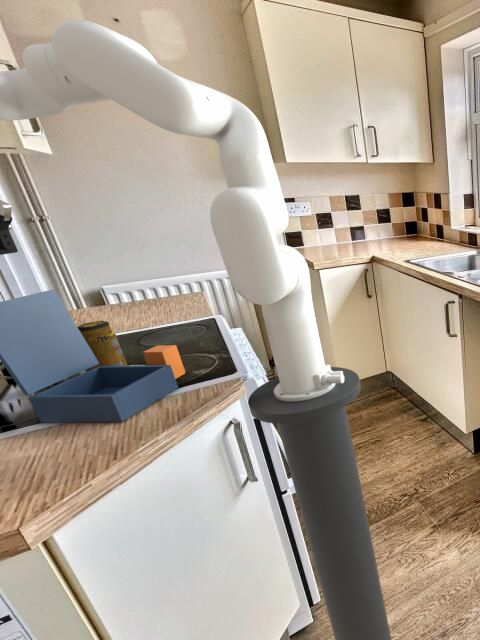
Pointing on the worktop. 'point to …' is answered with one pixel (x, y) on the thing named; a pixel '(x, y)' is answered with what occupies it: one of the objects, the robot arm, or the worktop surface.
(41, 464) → the worktop surface
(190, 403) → the worktop surface
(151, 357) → the orange rectangular block
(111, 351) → the condiment
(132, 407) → the lunchbox
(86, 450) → the worktop surface
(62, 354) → the lid
